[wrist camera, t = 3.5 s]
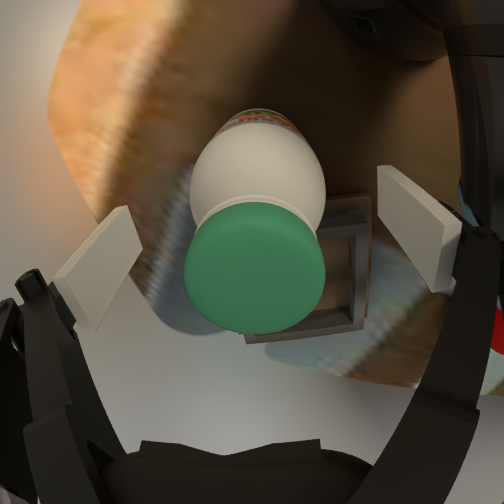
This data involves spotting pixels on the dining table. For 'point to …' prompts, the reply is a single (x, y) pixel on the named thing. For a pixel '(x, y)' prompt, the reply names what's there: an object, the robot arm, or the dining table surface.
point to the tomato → (498, 333)
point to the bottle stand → (337, 271)
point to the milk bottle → (256, 226)
